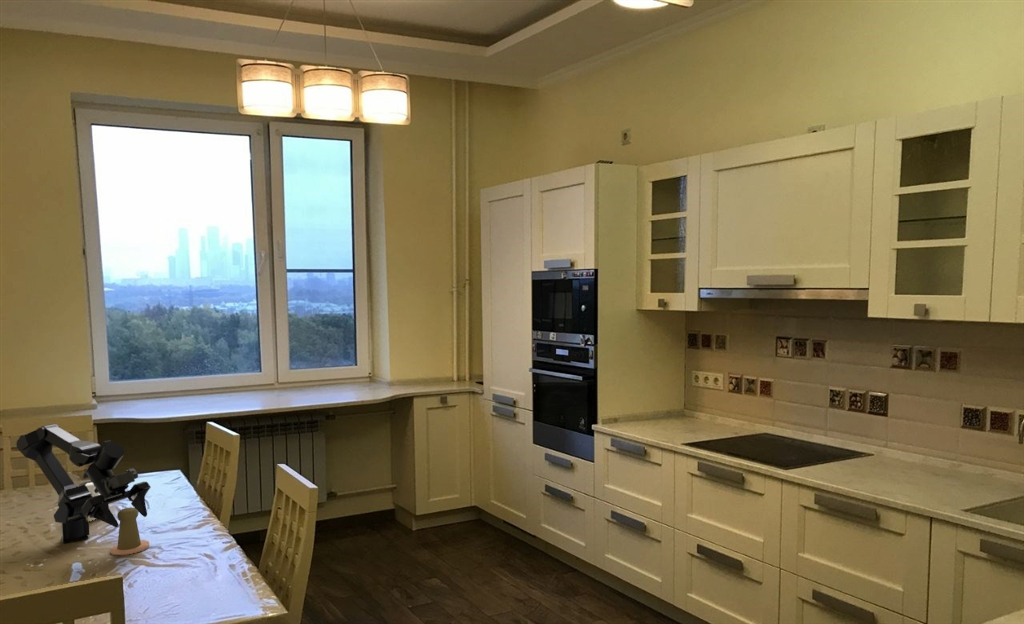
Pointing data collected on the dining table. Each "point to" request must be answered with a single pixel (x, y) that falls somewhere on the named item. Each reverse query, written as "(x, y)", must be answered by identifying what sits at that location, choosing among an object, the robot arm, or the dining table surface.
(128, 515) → the cork
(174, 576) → the dining table surface
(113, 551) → the peach round disc
